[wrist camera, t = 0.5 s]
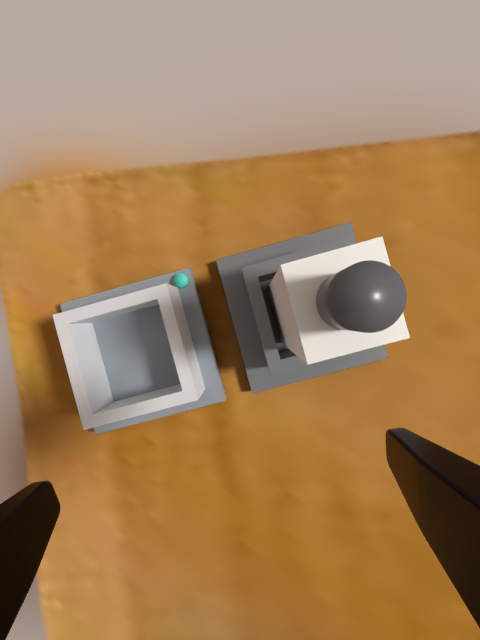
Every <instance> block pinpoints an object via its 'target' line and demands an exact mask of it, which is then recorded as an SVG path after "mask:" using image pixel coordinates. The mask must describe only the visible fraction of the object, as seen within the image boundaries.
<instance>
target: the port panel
mask: <svg viewBox="0 0 480 640" xmlns="http://www.w3.org/2000/svg"><path fill="white" fill-rule="evenodd" d="M60 307H61V310H62V312H61V313H58V314H54V315H53V319H54V323H55V327H56V330H57V334H58V338H59V341H60V345H61V349H62V352H63V356H64V360H65V364H66V367H67V371H68V375H69V378H70V382H71V386H72V389H73V393H74V397H75V401H76V404H77V408H78V412H79V415H80V419H81V423H82V426H83V430H86V429H90V428H93V429H94V432H95V435H96V434H99V433H103V432H107V431H111V430H115V429H118V428H122V427H126V426H130V425H134V424H138V423H141V422H145V421H149V420H153V419H157V418H161V417H164V416H168V415H172V414H176V413H180V412H184V411H187V410H191V409H195V408H199V407H203V406H207V405H210V404H214V403H218V402H222V401H226V394H225V391H224V387H223V383H222V379H221V376H220V372H219V368H218V365H217V361H216V357H215V354H214V350H213V346H212V343H211V339H210V335H209V332H208V328H207V324H206V320H205V317H204V313H203V309H202V306H201V302H200V298H199V295H198V291H197V287H196V284H195V280H194V276H193V273H192V269H191V268H186V269H183V270H179V271H175V272H172V273H168V274H165V275H161V276H158V277H154V278H150V279H147V280H143V281H140V282H136V283H133V284H129V285H125V286H122V287H118V288H115V289H111V290H108V291H104V292H100V293H97V294H93V295H90V296H86V297H83V298H79V299H75V300H72V301H68V302H65V303H61V304H60Z"/></svg>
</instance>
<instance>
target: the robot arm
mask: <svg viewBox="0 0 480 640" xmlns="http://www.w3.org/2000/svg"><path fill="white" fill-rule="evenodd" d="M386 455H387V461H388V464H389V467H390V469H391V471H392V473H393V475H394V477H395V479H396V481H397V483H398V485H399V487H400V489H401V491H402V493H403V496H404V498H405V500H406V502H407V504H408V506H409V508H410V510H411V512H412V514H413V516H414V518H415V520H416V522H417V524H418V526H419V528H420V530H421V532H422V533H423V535H424V537H425V538H426V540H427V542H428V543H429V545H430V547H431V548H432V550H433V552H434V553H435V555H436V557H437V558H438V560H439V562H440V563H441V565H442V567H443V568H444V570H445V571H446V573H447V575H448V576H449V578H450V580H451V581H452V583H453V585H454V586H455V588H456V590H457V591H458V593H459V595H460V596H461V598H462V600H463V601H464V603H465V604H466V606H467V608H468V609H469V611H470V613H471V614H472V616H473V618H474V619H475V621H476V623H477V624H478V626H479V628H480V466H479V465H477V464H475V463H473V462H471V461H469V460H467V459H465V458H463V457H461V456H459V455H457V454H455V453H453V452H451V451H449V450H447V449H445V448H443V447H441V446H439V445H437V444H435V443H433V442H431V441H429V440H427V439H425V438H423V437H421V436H419V435H417V434H415V433H413V432H411V431H409V430H407V429H405V428H395V429H389V430H387V431H386ZM59 513H60V503H59V500H58V498H57V495H56V493H55V491H54V488H53V486H52V484H51V483H50V482H49V481H40V482H34V483H31V484H30V485H28V486H27V487H25V488H24V489H22V490H21V491H19V492H18V493H16V494H15V495H13V496H12V497H10V498H9V499H7V500H6V501H4V502H3V503H1V504H0V640H5V639H6V637H7V635H8V633H9V631H10V629H11V627H12V625H13V623H14V620H15V618H16V616H17V614H18V612H19V610H20V608H21V606H22V604H23V602H24V600H25V598H26V595H27V593H28V591H29V589H30V587H31V584H32V582H33V580H34V578H35V575H36V573H37V570H38V568H39V565H40V563H41V560H42V558H43V555H44V552H45V550H46V547H47V545H48V542H49V540H50V537H51V534H52V532H53V529H54V527H55V524H56V521H57V519H58V516H59Z"/></svg>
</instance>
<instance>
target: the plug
mask: <svg viewBox="0 0 480 640" xmlns="http://www.w3.org/2000/svg"><path fill="white" fill-rule="evenodd" d="M267 291H268V295H269V299H270V302H271V306H272V310H273V313H274V317H275V321H276V324H277V328H278V332H279V335H280V339H281V343H282V344H284V345H285V346H286V347H287V348H288V349H290V350H291V351H292V352H293V353H294V354H296V355H297V356H298V357H299V358H300V359H302V360H303V361H304V362H305V363H306V364H312V363H316V362H320V361H324V360H327V359H331V358H335V357H339V356H343V355H346V354H350V353H354V352H358V351H362V350H365V349H369V348H373V347H377V346H381V345H384V344H388V343H392V342H396V341H400V340H403V339H407V338H410V336H409V333H408V329H407V325H406V322H405V318H404V314H403V311H404V308H405V304H406V288H405V285H404V282H403V280H402V278H401V277H400V275H399V274H398V273H397V272H396V271H395V270H394V269H393V268H392V267H391V266H390V263H389V259H388V255H387V252H386V248H385V244H384V241H383V237H379V238H375V239H372V240H368V241H364V242H361V243H357V244H353V245H350V246H346V247H343V248H339V249H335V250H332V251H328V252H325V253H321V254H317V255H314V256H310V257H307V258H303V259H299V260H296V261H292V262H289V263H285V264H281V265H280V267H279V268H278V270H277V272H276V274H275V276H274V277H273V279H272V281H271V283H270V285H269V286H268V288H267Z"/></svg>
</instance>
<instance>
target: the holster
mask: <svg viewBox="0 0 480 640" xmlns="http://www.w3.org/2000/svg"><path fill="white" fill-rule="evenodd" d="M353 244H357V242H356V238H355V234H354V231H353V227H352V223H351V222H350V223H347V224H343V225H340V226H336V227H332V228H329V229H325V230H322V231H318V232H315V233H311V234H307V235H304V236H300V237H297V238H293V239H290V240H286V241H282V242H279V243H275V244H272V245H268V246H265V247H261V248H258V249H254V250H250V251H247V252H243V253H240V254H236V255H233V256H229V257H225V258H222V259H218V260H216V262H217V266H218V270H219V273H220V277H221V281H222V284H223V288H224V292H225V295H226V299H227V303H228V306H229V310H230V314H231V318H232V321H233V325H234V329H235V332H236V336H237V340H238V343H239V347H240V351H241V354H242V358H243V362H244V365H245V369H246V373H247V377H248V380H249V384H250V388H251V391H252V393H256V392H260V391H264V390H268V389H272V388H275V387H279V386H283V385H287V384H291V383H295V382H298V381H302V380H306V379H310V378H314V377H318V376H321V375H325V374H329V373H333V372H337V371H340V370H344V369H348V368H352V367H356V366H360V365H363V364H367V363H371V362H375V361H379V360H383V359H386V358H388V356H387V352H386V348H385V345H381V346H377V347H373V348H369V349H365V350H362V351H358V352H354V353H350V354H346V355H343V356H339V357H335V358H331V359H327V360H324V361H320V362H316V363H312V364H306V363H305V362H304V361H303V360H302V359H300V358H299V357H298V356H297V355H296V354H294V353H293V352H292V351H291V350H290V349H288V348H287V347H286V346H285V345H284V344H282V343H281V339H280V335H279V332H278V328H277V324H276V321H275V317H274V313H273V310H272V306H271V302H270V299H269V295H268V291H267V288H268V286H269V285H270V283H271V281H272V279H273V277H274V276H275V274H276V272H277V270H278V268H279V267H280V265H281V264H285V263H289V262H292V261H296V260H299V259H303V258H307V257H310V256H314V255H317V254H321V253H325V252H328V251H332V250H335V249H339V248H343V247H346V246H350V245H353Z"/></svg>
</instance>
